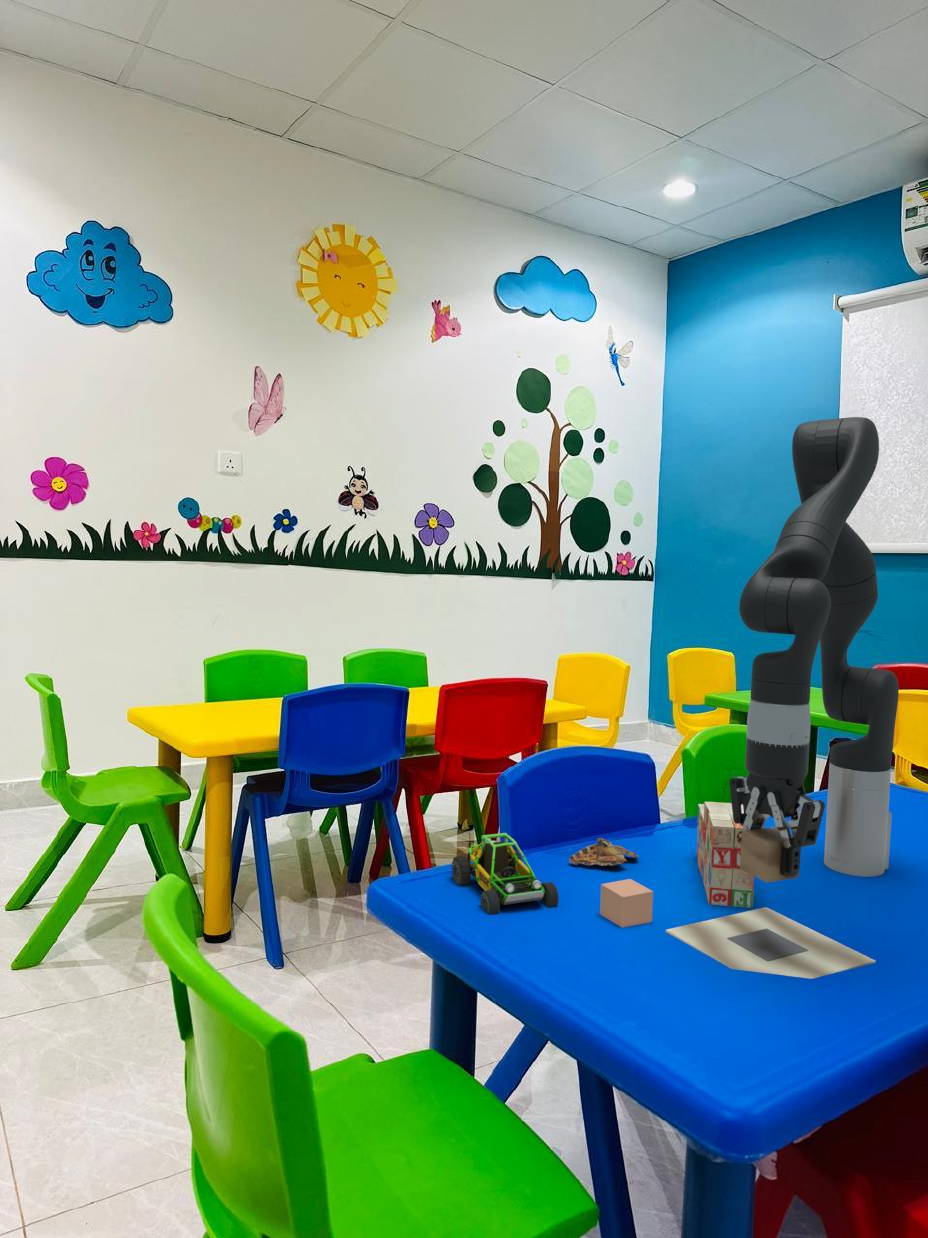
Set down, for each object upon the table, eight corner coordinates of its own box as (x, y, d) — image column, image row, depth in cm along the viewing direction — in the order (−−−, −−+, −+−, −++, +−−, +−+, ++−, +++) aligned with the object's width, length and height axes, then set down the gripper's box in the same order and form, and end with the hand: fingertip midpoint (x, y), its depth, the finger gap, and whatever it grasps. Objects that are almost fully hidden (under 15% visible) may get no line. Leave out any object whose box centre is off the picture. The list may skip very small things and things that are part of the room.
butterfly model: (567, 862, 145) (567, 844, 145) (601, 843, 155) (601, 826, 155) (616, 874, 140) (616, 854, 140) (647, 854, 150) (648, 836, 150)
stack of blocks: (695, 857, 150) (698, 785, 149) (734, 860, 149) (737, 787, 148) (708, 908, 129) (712, 824, 128) (753, 911, 128) (758, 827, 127)
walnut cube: (770, 864, 117) (772, 827, 117) (798, 877, 113) (800, 838, 112) (739, 868, 115) (741, 830, 115) (766, 882, 111) (768, 843, 110)
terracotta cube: (629, 913, 127) (630, 878, 126) (651, 927, 122) (653, 891, 122) (599, 919, 124) (601, 884, 124) (621, 933, 120) (623, 897, 120)
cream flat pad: (765, 914, 127) (766, 906, 127) (875, 968, 111) (875, 960, 111) (665, 937, 119) (665, 929, 119) (768, 999, 103) (768, 990, 103)
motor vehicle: (490, 923, 123) (491, 854, 122) (445, 877, 139) (446, 817, 138) (559, 913, 127) (561, 846, 126) (507, 870, 143) (509, 810, 142)
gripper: (846, 745, 108) (838, 883, 109) (757, 723, 121) (751, 847, 122) (801, 751, 105) (793, 892, 106) (714, 727, 117) (708, 854, 119)
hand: (770, 867), depth 114 cm, fingers closed on walnut cube, 5 cm apart
